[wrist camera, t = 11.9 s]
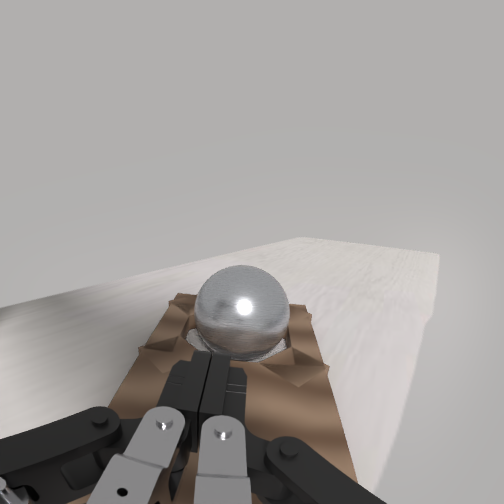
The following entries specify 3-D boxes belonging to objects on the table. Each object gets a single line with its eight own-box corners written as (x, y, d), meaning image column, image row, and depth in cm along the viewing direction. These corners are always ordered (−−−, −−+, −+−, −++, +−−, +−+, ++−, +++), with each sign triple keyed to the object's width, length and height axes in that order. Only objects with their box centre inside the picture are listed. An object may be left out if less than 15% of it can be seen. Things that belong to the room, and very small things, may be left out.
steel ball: (187, 259, 35) (179, 346, 34) (222, 260, 26) (211, 375, 25) (263, 268, 40) (255, 346, 39) (314, 271, 31) (303, 368, 30)
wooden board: (367, 547, 11) (380, 536, 10) (60, 511, 11) (49, 497, 10) (306, 316, 44) (308, 303, 44) (175, 303, 44) (175, 291, 44)
